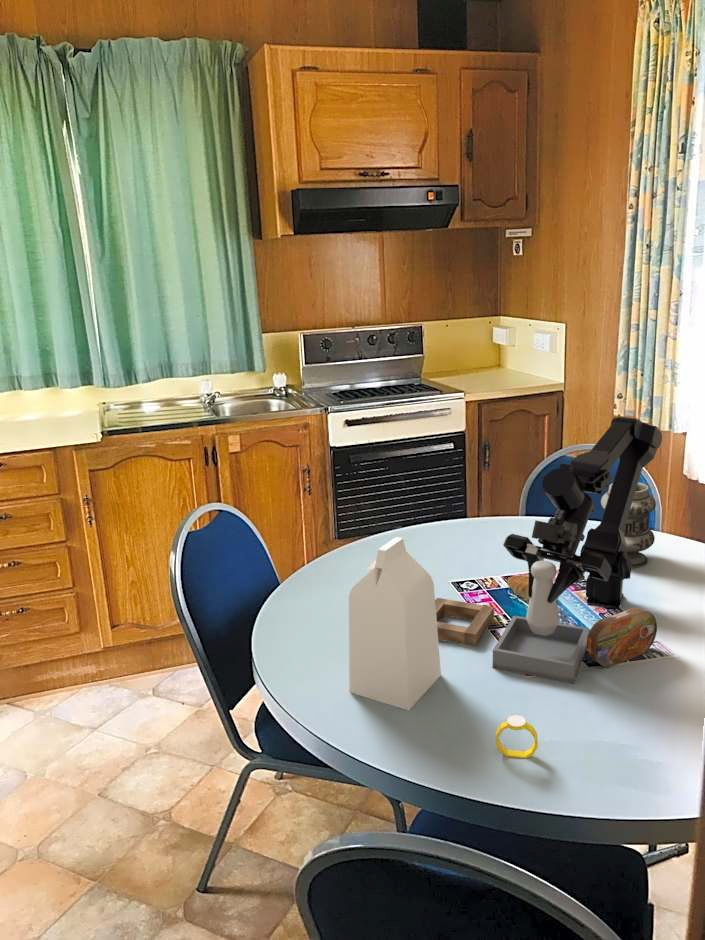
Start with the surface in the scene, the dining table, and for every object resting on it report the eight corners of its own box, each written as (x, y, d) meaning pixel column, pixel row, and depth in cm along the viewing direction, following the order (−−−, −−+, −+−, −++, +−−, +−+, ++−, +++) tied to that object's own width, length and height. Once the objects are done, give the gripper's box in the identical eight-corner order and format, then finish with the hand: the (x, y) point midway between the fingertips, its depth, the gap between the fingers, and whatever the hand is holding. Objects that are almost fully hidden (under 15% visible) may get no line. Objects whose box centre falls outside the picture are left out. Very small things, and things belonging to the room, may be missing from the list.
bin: (587, 645, 142) (588, 628, 141) (573, 683, 130) (573, 665, 129) (513, 631, 148) (513, 615, 147) (492, 667, 136) (492, 650, 135)
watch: (496, 761, 112) (493, 725, 110) (497, 749, 114) (494, 714, 113) (538, 762, 111) (536, 726, 109) (538, 750, 113) (535, 715, 112)
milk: (409, 710, 125) (404, 563, 117) (349, 691, 131) (341, 550, 123) (441, 674, 134) (438, 536, 127) (384, 659, 140) (378, 526, 133)
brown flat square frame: (493, 618, 153) (494, 607, 153) (475, 646, 143) (475, 634, 142) (437, 608, 158) (437, 597, 158) (416, 635, 148) (415, 623, 148)
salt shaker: (565, 633, 136) (568, 566, 132) (538, 641, 134) (540, 573, 130) (546, 619, 141) (547, 554, 137) (519, 626, 139) (520, 560, 135)
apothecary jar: (607, 546, 186) (611, 475, 181) (659, 555, 179) (664, 482, 174) (590, 563, 177) (594, 489, 172) (644, 574, 170) (649, 497, 165)
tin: (595, 673, 133) (597, 629, 130) (582, 664, 135) (584, 622, 133) (657, 649, 139) (660, 607, 137) (643, 642, 142) (646, 600, 139)
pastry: (499, 589, 167) (499, 572, 166) (521, 581, 170) (521, 565, 169) (531, 604, 159) (531, 587, 158) (553, 595, 163) (554, 578, 161)
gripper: (508, 492, 139) (476, 568, 135) (607, 511, 127) (575, 596, 123) (529, 519, 147) (499, 592, 143) (624, 540, 135) (595, 620, 131)
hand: (539, 599), depth 134 cm, fingers closed on salt shaker, 3 cm apart
